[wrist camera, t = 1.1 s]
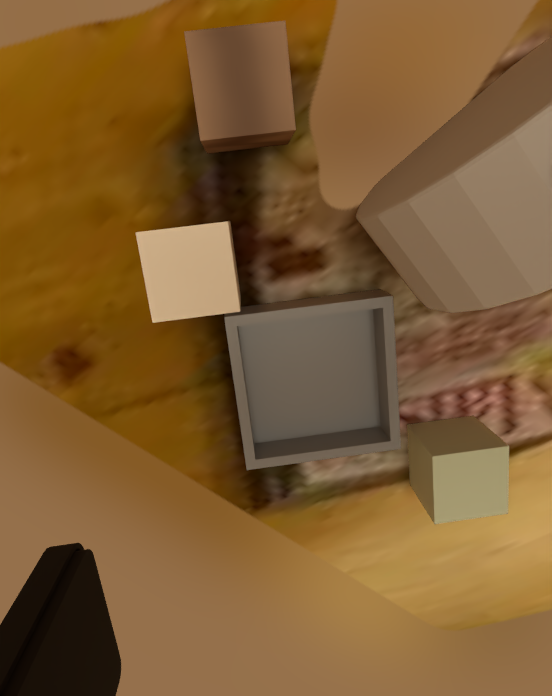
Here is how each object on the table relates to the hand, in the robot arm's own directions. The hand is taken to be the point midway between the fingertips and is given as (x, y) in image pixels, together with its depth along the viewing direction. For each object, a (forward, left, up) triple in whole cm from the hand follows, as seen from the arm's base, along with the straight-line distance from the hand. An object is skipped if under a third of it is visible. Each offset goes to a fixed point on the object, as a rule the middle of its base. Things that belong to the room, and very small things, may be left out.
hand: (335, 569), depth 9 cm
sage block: (-14, +15, -30) cm, 37 cm away
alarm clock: (-17, -9, -31) cm, 36 cm away
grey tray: (-3, +6, -30) cm, 31 cm away
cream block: (+5, -4, -30) cm, 31 cm away
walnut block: (0, -15, -30) cm, 34 cm away
